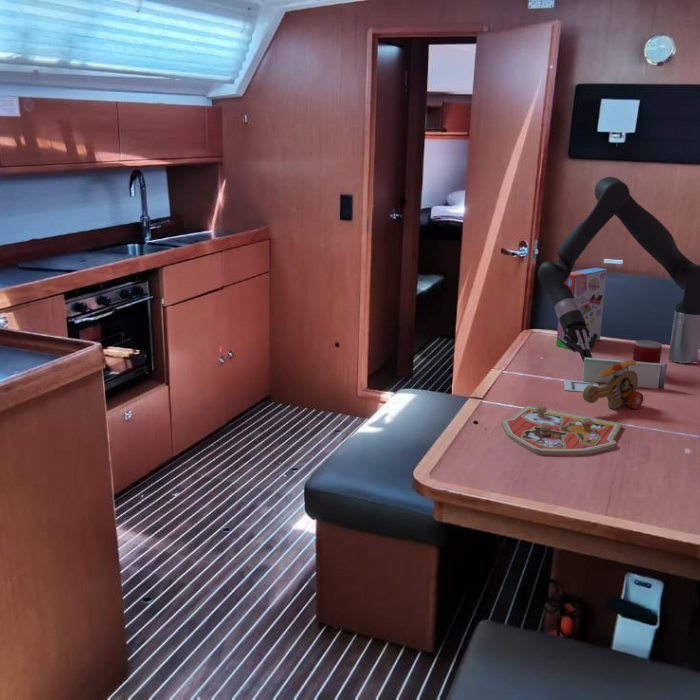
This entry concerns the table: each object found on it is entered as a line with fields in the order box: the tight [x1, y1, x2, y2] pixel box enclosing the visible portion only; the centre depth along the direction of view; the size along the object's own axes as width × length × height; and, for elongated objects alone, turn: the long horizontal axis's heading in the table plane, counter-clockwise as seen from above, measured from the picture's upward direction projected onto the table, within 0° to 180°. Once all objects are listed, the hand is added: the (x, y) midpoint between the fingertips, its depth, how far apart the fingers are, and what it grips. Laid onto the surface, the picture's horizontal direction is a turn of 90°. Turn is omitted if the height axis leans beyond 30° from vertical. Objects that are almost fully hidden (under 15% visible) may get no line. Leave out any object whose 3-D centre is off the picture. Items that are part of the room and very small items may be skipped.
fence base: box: [622, 359, 668, 390], centre depth 225 cm, size 2×13×8 cm, turn 76°
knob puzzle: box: [501, 404, 623, 457], centre depth 187 cm, size 29×30×4 cm
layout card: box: [563, 379, 599, 393], centre depth 224 cm, size 10×10×1 cm
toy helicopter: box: [582, 359, 644, 410], centre depth 204 cm, size 8×21×14 cm, turn 122°
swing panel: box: [582, 357, 622, 383], centre depth 227 cm, size 11×2×7 cm, turn 76°
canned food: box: [632, 339, 663, 364], centre depth 235 cm, size 8×8×11 cm
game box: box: [555, 267, 608, 350], centre depth 270 cm, size 21×6×27 cm, turn 130°
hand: (588, 361), depth 231 cm, fingers closed
